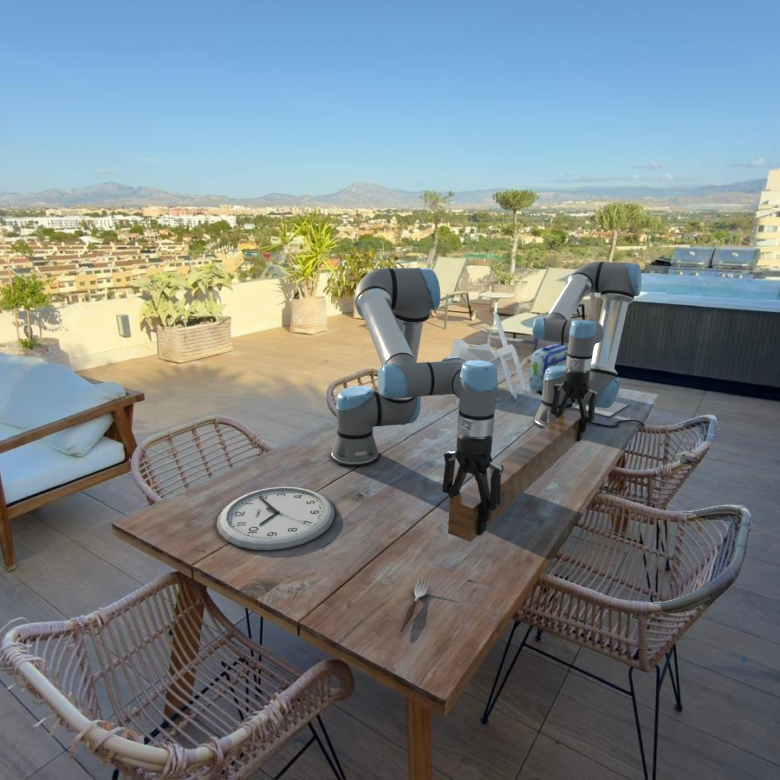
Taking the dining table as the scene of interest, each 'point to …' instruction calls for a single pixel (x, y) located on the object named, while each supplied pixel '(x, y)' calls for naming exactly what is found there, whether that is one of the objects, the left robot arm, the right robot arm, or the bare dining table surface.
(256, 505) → the wall clock
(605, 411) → the invitation card
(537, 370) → the lunch box
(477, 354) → the white plastic object
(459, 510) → the post
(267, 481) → the dining table surface
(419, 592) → the fork
